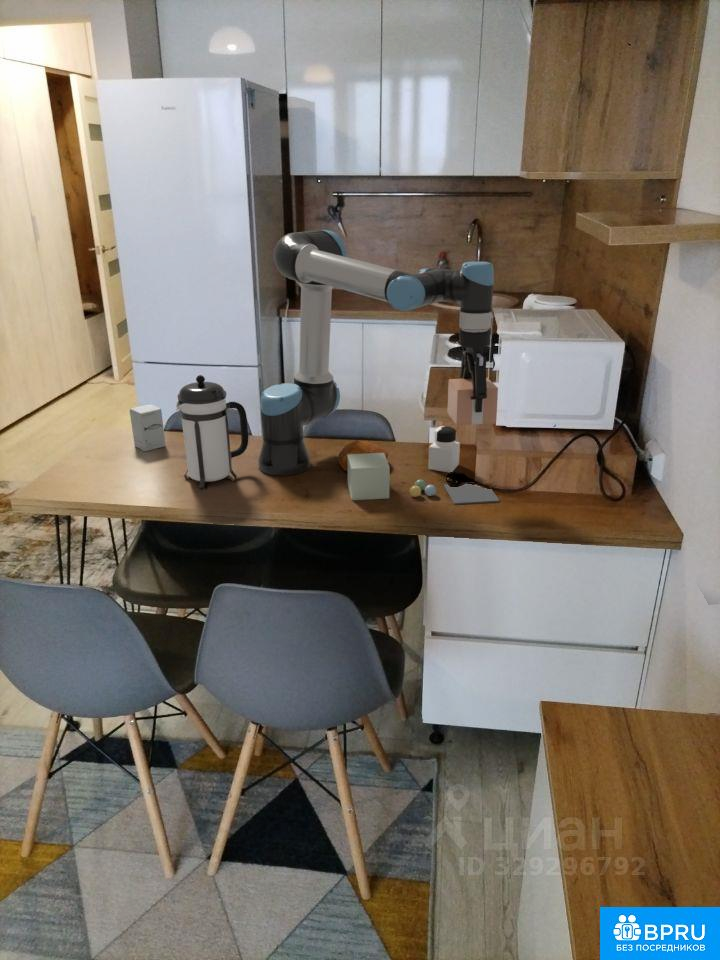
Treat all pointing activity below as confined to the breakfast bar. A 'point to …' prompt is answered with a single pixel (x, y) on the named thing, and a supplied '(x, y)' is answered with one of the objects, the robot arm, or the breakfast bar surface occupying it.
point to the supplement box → (147, 427)
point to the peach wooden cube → (470, 401)
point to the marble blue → (430, 490)
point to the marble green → (420, 484)
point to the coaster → (470, 494)
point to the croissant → (358, 451)
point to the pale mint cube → (368, 476)
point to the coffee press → (208, 431)
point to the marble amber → (415, 491)
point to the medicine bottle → (444, 450)
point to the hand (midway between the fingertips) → (471, 417)
